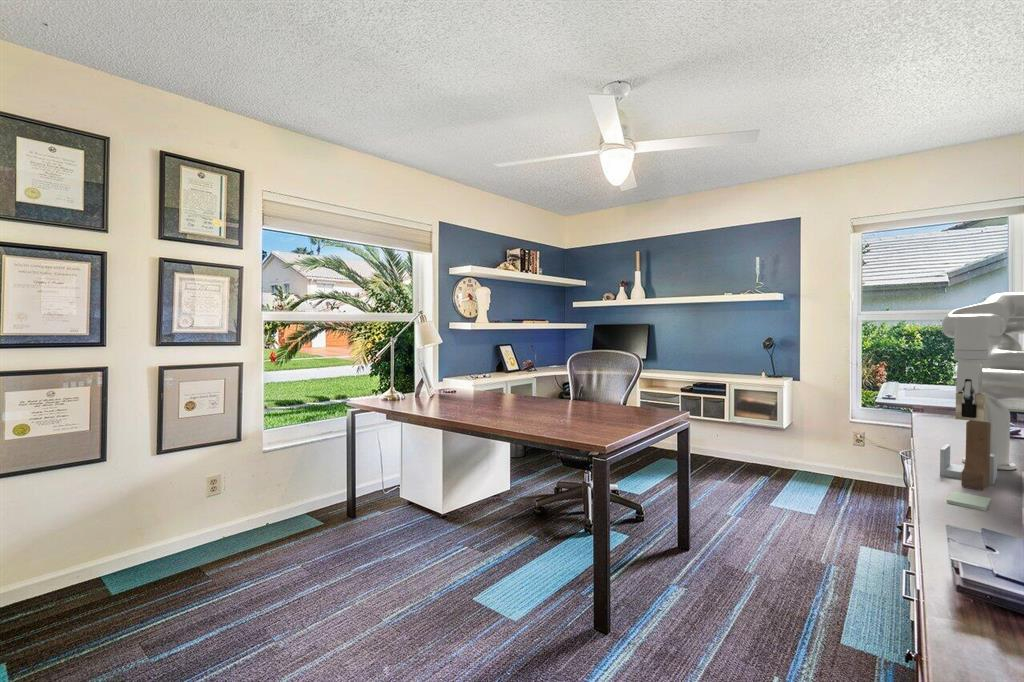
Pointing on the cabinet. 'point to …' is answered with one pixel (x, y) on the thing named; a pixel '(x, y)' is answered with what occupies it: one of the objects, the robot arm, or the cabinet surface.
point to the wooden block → (977, 455)
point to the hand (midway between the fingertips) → (970, 415)
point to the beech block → (978, 401)
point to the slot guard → (956, 470)
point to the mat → (969, 500)
